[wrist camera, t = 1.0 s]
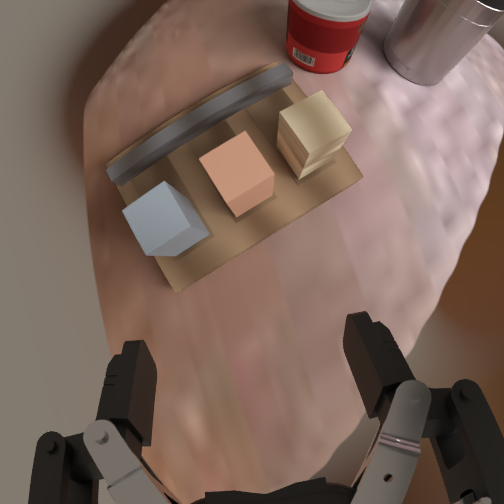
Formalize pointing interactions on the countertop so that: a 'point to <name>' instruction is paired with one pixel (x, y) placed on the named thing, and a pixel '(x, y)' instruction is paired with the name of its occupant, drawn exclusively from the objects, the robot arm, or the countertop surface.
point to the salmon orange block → (239, 173)
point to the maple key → (311, 133)
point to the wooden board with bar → (201, 185)
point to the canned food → (324, 32)
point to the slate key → (164, 222)
